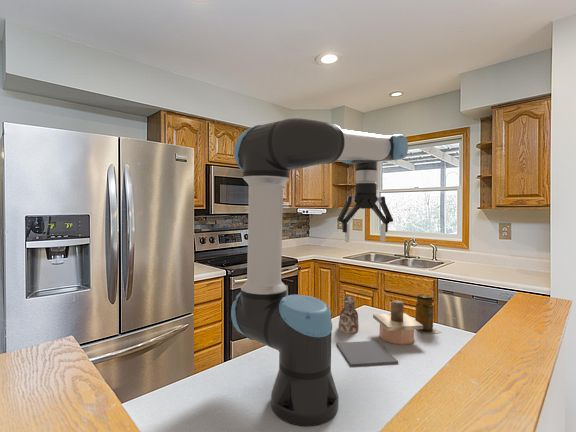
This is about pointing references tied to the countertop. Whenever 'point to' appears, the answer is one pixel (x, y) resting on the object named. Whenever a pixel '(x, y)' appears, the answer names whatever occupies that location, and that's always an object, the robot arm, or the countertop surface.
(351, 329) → the figurine
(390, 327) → the lid
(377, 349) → the mat
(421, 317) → the condiment
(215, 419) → the countertop surface
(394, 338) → the bowl
